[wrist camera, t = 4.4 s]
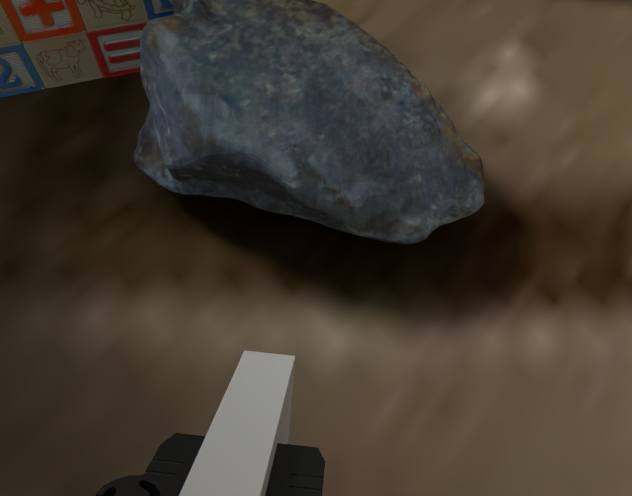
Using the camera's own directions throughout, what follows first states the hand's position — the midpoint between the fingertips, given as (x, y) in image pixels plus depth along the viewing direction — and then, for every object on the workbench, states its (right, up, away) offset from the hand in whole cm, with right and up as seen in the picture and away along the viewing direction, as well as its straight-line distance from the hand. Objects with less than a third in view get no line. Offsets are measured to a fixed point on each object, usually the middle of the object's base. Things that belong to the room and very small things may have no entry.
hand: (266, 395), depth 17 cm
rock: (+1, +8, +11) cm, 13 cm away
